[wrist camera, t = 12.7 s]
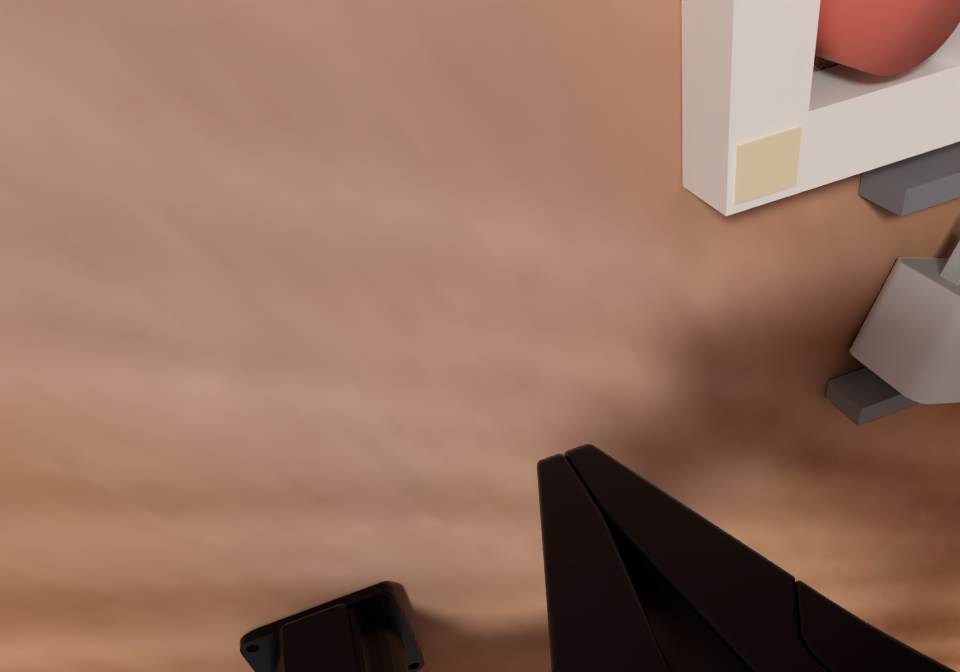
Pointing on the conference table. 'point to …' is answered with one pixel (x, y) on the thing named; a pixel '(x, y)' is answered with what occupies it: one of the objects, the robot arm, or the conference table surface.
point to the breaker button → (884, 32)
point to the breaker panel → (796, 105)
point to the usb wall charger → (916, 330)
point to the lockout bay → (902, 194)
